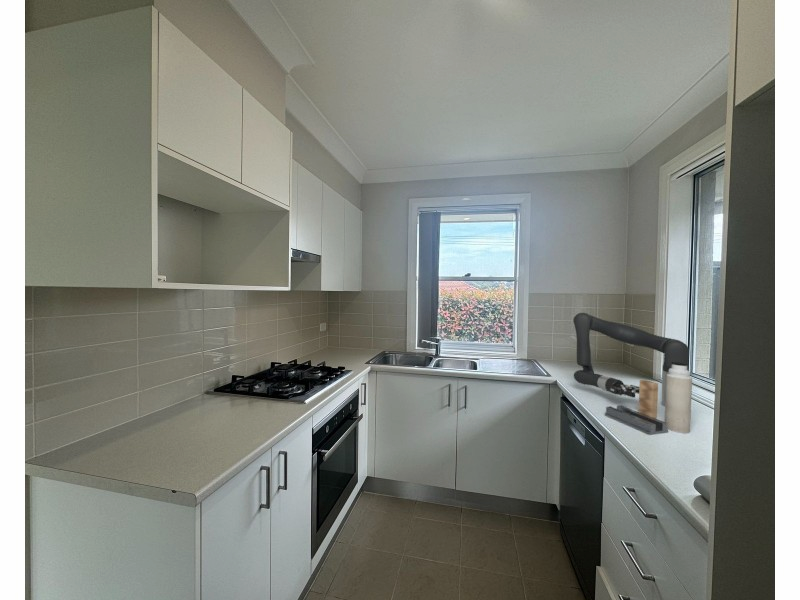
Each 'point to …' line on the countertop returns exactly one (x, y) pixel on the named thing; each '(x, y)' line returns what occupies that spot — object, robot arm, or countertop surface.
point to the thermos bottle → (678, 398)
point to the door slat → (648, 398)
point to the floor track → (637, 420)
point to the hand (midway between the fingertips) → (641, 394)
